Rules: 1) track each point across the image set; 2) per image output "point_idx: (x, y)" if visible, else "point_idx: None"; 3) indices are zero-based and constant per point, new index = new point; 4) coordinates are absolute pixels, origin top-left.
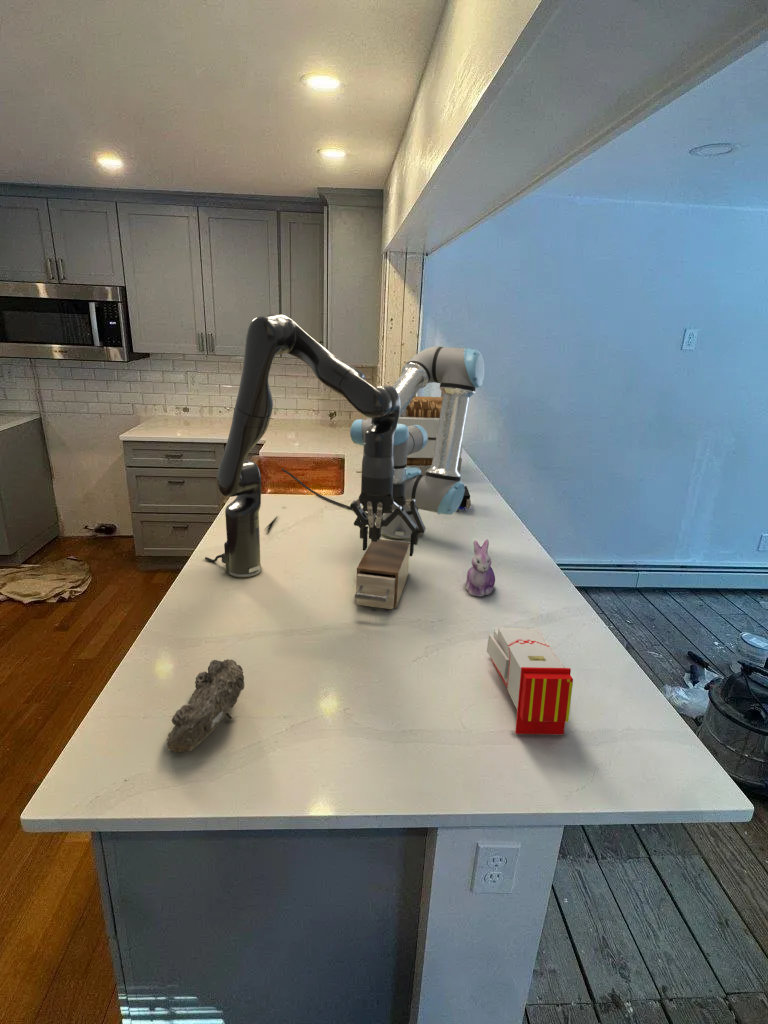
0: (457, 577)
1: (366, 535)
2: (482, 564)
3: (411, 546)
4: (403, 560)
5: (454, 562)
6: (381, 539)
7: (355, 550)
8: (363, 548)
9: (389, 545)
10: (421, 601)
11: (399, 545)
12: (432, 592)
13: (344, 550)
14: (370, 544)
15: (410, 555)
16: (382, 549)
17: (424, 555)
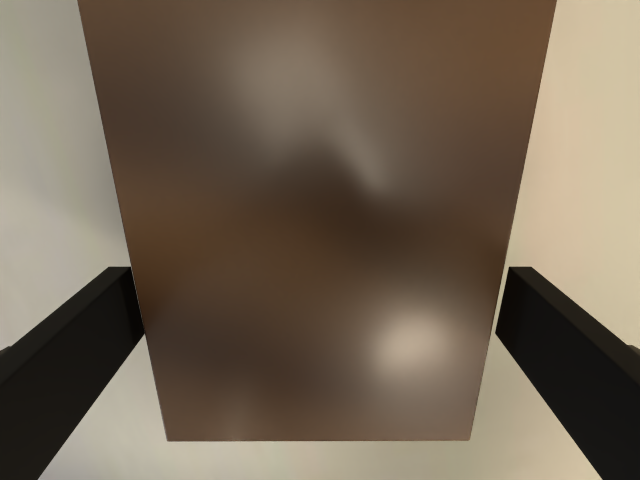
0: (8, 326)
1: (588, 383)
2: None
3: (60, 316)
4: (91, 60)
5: (73, 444)
6: (400, 439)
7: (499, 446)
8: (534, 275)
9: (315, 356)
10: (77, 16)
11: (232, 376)
12: (59, 145)
13: (547, 436)
14: (484, 334)
15: (118, 269)
16: (362, 263)
17: (208, 469)
